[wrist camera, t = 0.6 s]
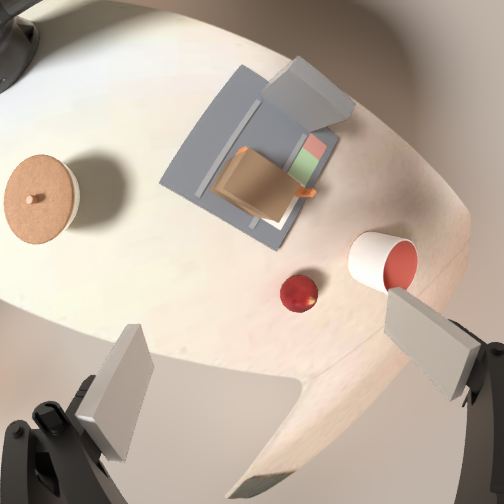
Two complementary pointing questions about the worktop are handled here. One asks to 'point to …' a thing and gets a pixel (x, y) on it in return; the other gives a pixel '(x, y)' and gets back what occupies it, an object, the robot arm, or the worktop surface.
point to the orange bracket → (301, 190)
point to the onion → (299, 293)
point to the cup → (383, 261)
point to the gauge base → (261, 140)
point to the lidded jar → (41, 199)
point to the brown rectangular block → (255, 186)
